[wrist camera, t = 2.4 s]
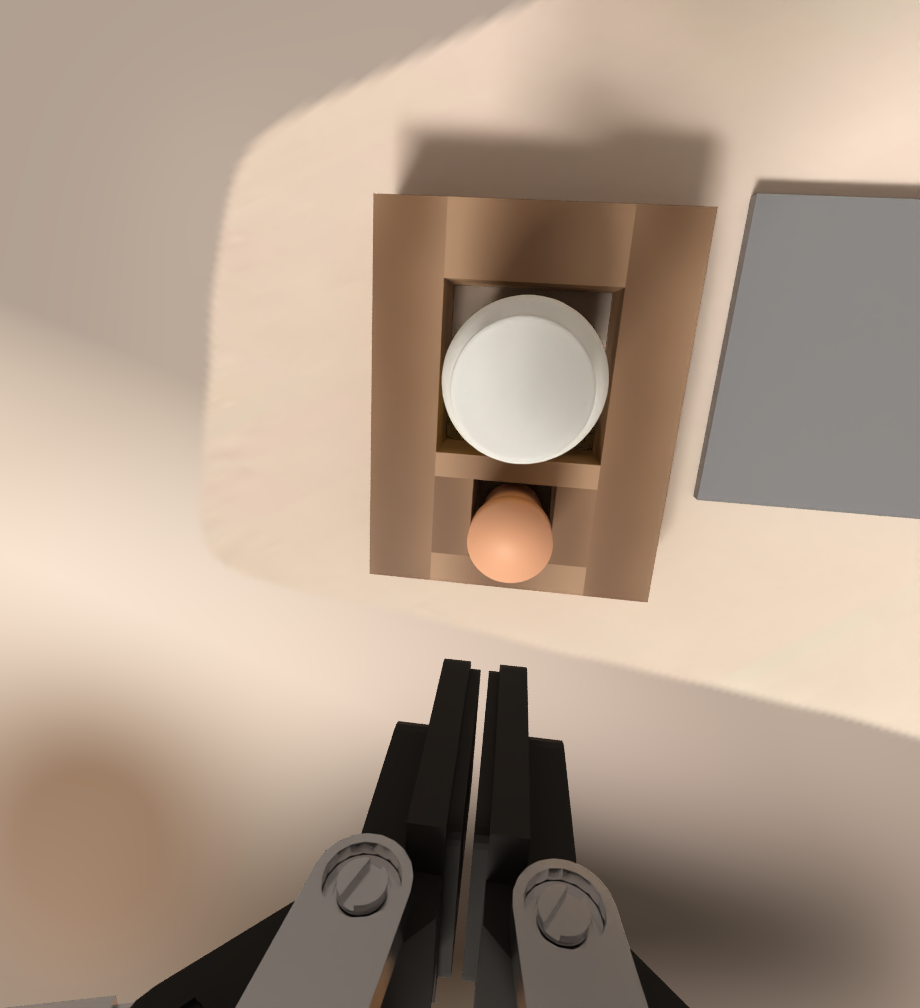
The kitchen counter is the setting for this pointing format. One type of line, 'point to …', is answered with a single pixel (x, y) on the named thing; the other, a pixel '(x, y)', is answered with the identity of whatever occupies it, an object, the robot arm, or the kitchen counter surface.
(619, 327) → the housing
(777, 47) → the kitchen counter surface
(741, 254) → the pad
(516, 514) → the peach rounded piece
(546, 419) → the supplement bottle
